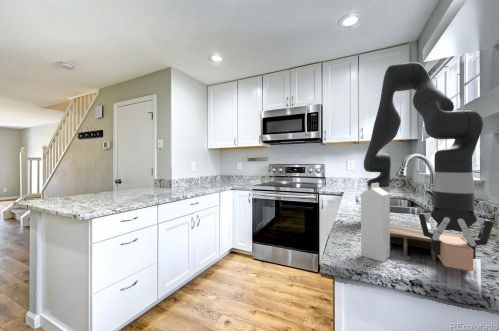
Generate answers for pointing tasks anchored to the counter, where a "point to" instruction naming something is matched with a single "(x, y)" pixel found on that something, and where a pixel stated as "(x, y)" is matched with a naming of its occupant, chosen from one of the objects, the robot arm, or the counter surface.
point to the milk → (375, 223)
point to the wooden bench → (415, 238)
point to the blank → (455, 253)
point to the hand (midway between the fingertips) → (452, 256)
